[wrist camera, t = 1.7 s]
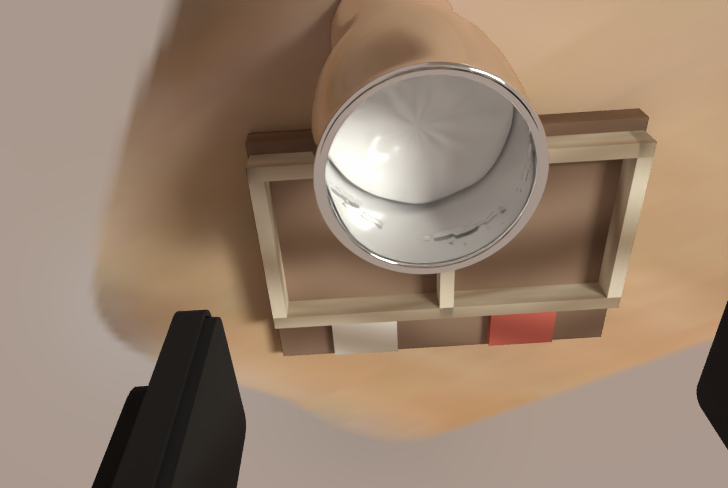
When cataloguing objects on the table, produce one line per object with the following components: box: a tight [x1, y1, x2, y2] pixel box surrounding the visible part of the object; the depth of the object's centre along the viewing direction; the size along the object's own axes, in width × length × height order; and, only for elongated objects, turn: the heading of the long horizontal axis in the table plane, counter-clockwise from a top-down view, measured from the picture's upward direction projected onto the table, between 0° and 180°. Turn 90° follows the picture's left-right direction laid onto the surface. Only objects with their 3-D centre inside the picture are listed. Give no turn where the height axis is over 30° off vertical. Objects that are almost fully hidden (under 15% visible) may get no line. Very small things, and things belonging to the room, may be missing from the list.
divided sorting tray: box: [245, 109, 657, 356], centre depth 35 cm, size 15×21×3 cm
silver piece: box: [311, 0, 549, 274], centre depth 23 cm, size 7×7×15 cm
